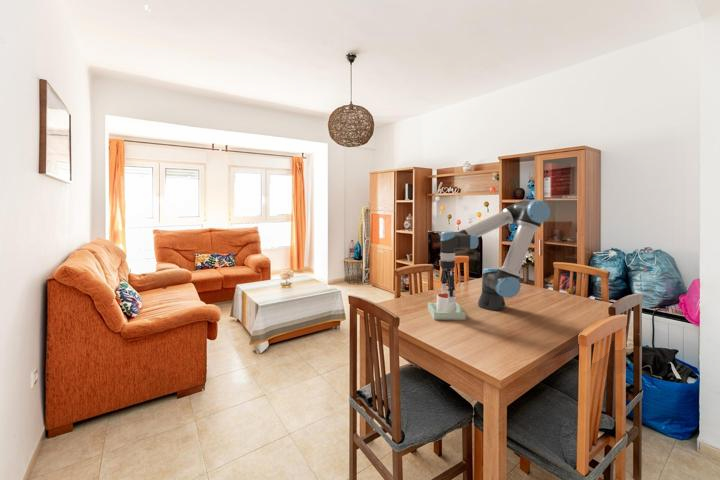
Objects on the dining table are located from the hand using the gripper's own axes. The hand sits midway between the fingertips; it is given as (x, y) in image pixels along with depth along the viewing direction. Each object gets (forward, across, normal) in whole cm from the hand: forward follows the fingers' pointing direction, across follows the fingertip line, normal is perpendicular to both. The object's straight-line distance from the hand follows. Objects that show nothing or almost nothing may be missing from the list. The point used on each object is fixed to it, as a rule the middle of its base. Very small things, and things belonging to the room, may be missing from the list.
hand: (447, 298), depth 178 cm
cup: (+9, 0, -1) cm, 9 cm away
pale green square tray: (+9, 0, -1) cm, 9 cm away
